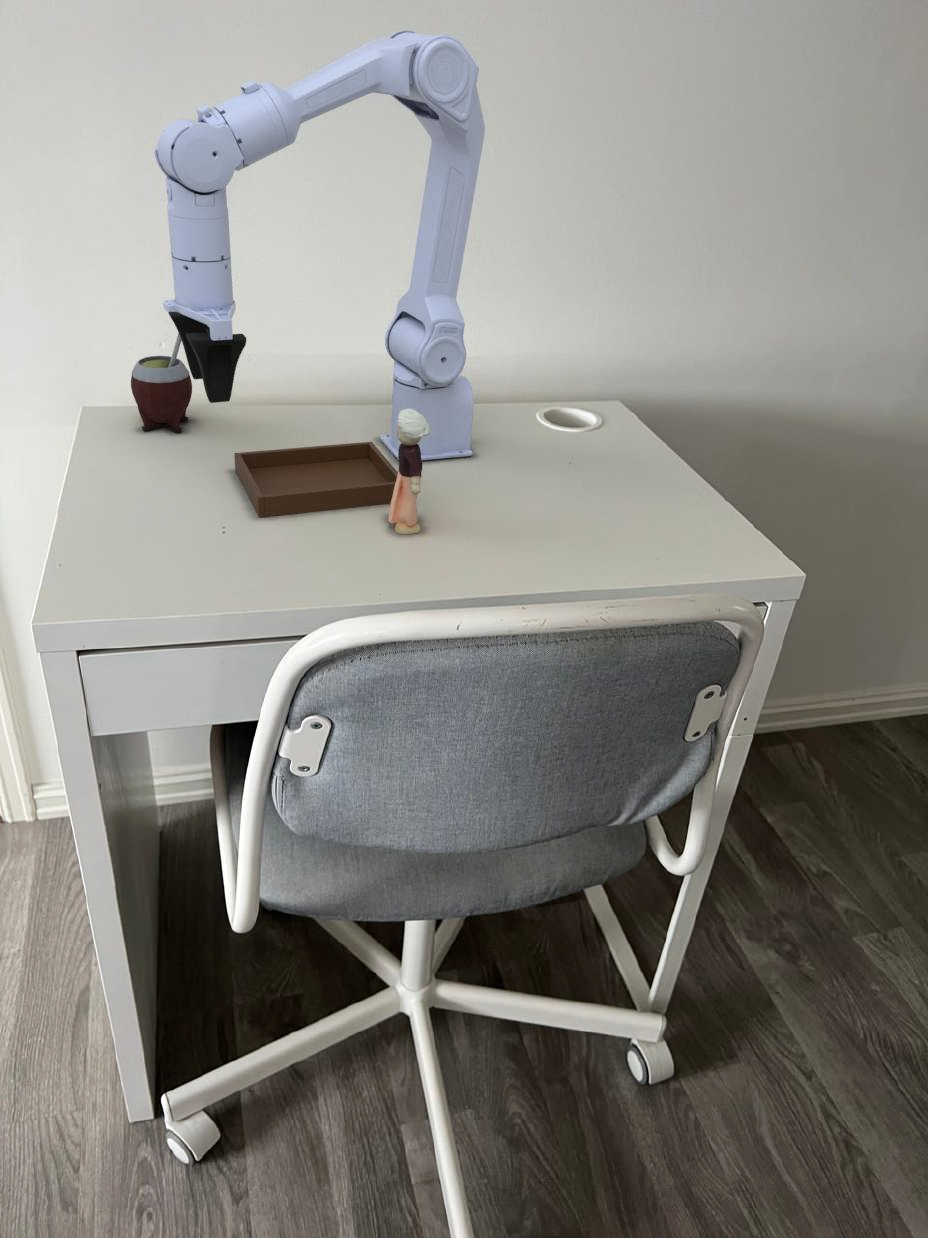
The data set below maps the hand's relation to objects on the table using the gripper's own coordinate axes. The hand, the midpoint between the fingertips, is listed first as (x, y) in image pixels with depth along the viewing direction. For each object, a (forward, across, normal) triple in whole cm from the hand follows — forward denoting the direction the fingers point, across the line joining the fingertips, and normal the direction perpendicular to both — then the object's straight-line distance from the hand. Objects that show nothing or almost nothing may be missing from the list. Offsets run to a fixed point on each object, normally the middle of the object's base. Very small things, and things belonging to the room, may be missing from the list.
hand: (210, 389), depth 104 cm
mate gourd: (+10, -17, -2) cm, 20 cm away
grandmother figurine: (+10, +18, +16) cm, 26 cm away
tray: (+10, +6, +10) cm, 15 cm away
